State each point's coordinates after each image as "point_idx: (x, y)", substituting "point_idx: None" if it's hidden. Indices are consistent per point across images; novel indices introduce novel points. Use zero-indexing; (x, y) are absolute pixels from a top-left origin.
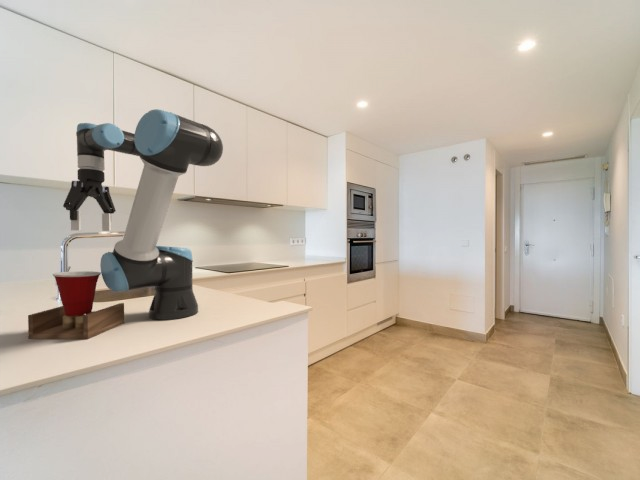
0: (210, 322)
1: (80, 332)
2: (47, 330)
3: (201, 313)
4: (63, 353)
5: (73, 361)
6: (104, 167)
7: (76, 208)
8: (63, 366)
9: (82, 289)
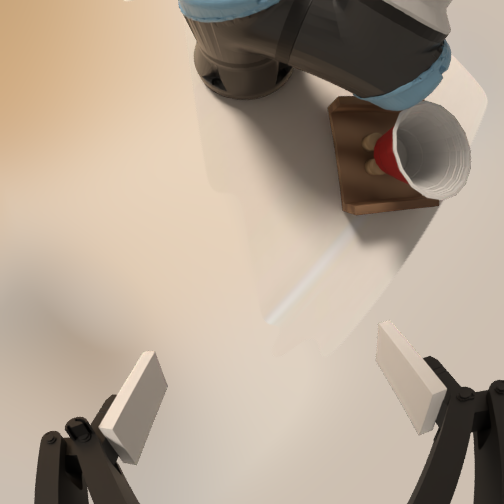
0: None
1: None
2: (406, 190)
3: None
4: (444, 101)
5: (452, 75)
6: None
7: (468, 391)
8: (460, 77)
9: (428, 125)
